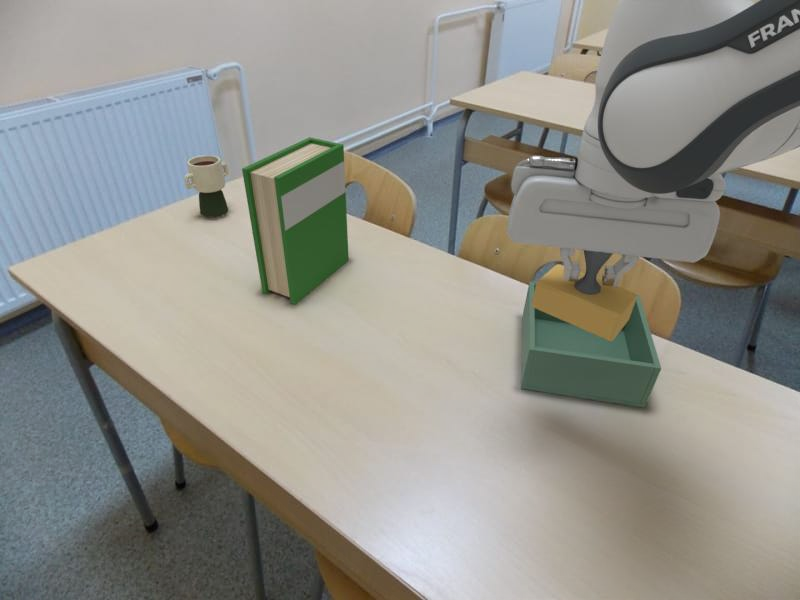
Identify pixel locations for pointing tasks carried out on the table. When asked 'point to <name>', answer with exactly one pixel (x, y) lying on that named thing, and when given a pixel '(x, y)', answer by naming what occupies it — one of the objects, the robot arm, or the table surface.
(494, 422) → the table surface
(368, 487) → the table surface
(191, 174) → the character mug
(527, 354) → the open box
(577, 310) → the rubber stamp
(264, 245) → the hardback book
